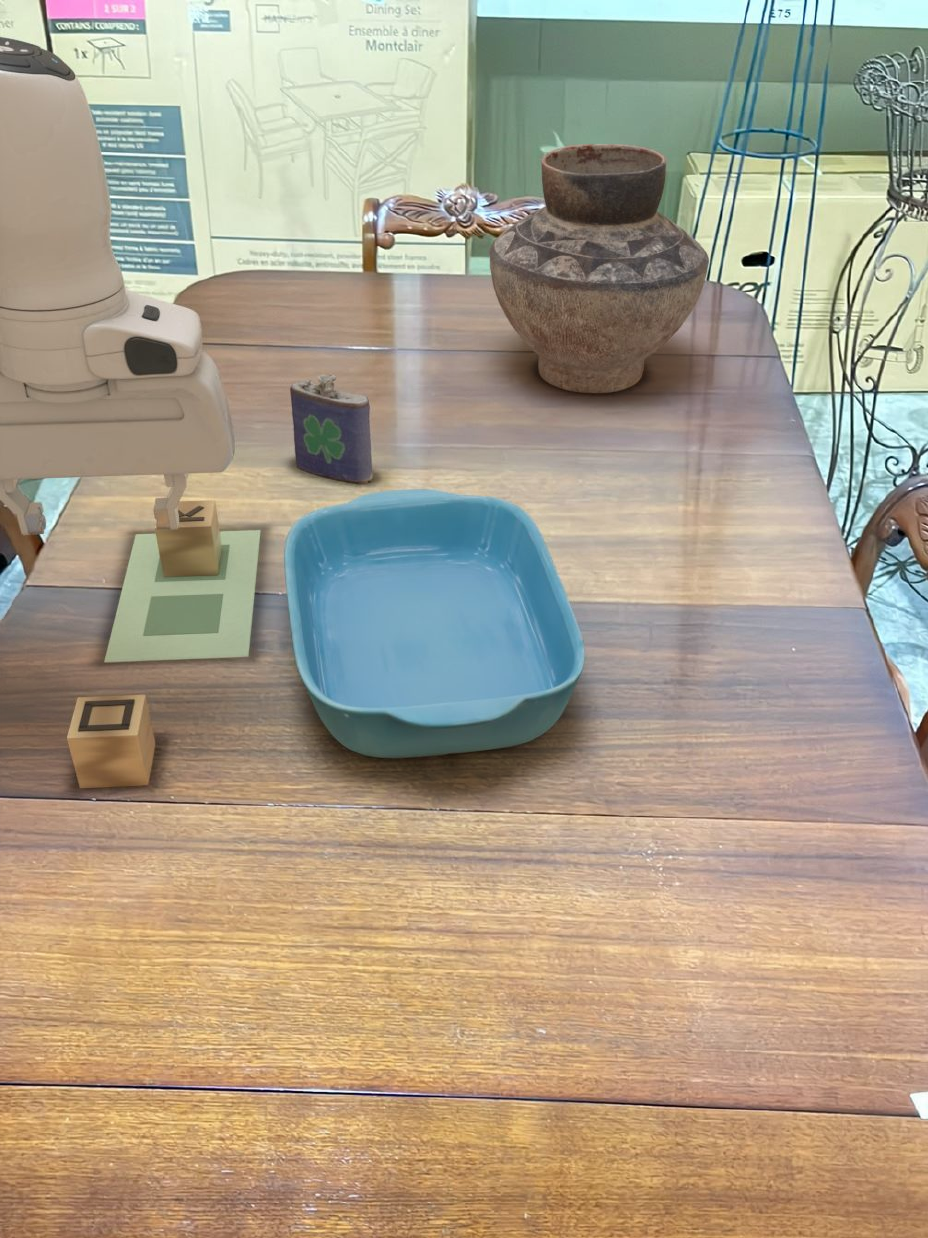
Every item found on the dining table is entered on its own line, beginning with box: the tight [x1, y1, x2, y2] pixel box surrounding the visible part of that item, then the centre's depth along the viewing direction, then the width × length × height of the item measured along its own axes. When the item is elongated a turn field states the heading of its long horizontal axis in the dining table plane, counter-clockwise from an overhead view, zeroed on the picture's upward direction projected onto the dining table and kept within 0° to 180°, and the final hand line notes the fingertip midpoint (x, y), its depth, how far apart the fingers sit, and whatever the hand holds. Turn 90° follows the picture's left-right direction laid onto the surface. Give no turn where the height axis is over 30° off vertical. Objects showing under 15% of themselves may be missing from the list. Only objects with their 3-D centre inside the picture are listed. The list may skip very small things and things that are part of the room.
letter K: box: [154, 499, 222, 577], centre depth 115 cm, size 5×5×5 cm
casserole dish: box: [283, 488, 586, 759], centre depth 103 cm, size 37×22×7 cm, turn 9°
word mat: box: [103, 529, 262, 664], centre depth 113 cm, size 12×22×1 cm, turn 4°
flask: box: [289, 373, 374, 485], centre depth 128 cm, size 9×3×11 cm, turn 61°
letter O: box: [66, 694, 157, 789], centre depth 93 cm, size 5×5×5 cm
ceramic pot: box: [488, 143, 710, 394], centre depth 144 cm, size 25×25×24 cm
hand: (101, 528), depth 90 cm, fingers open, 8 cm apart
